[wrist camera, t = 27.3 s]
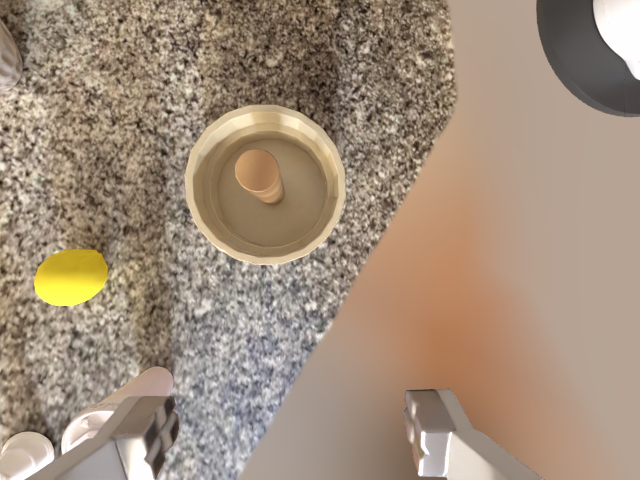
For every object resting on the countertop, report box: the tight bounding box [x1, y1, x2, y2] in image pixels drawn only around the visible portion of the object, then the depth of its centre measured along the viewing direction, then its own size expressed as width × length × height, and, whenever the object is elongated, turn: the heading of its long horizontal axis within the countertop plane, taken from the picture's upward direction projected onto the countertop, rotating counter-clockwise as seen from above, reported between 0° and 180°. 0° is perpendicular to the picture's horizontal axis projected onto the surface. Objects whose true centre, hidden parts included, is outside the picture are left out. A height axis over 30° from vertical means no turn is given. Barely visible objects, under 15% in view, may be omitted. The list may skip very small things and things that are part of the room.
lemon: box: [34, 249, 108, 306], centre depth 29 cm, size 7×5×5 cm
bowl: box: [185, 105, 346, 265], centre depth 30 cm, size 14×14×7 cm
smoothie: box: [61, 366, 174, 455], centre depth 26 cm, size 6×6×14 cm
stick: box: [235, 148, 285, 206], centre depth 26 cm, size 3×3×14 cm
